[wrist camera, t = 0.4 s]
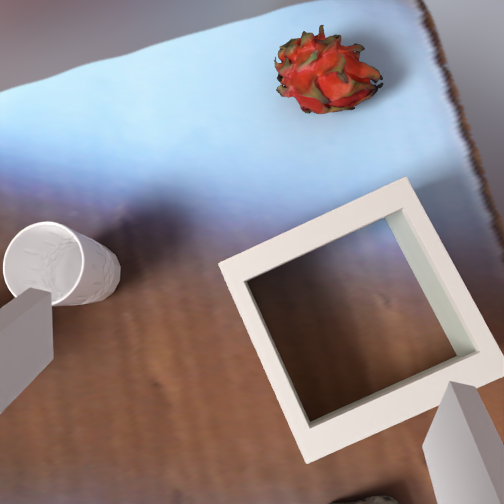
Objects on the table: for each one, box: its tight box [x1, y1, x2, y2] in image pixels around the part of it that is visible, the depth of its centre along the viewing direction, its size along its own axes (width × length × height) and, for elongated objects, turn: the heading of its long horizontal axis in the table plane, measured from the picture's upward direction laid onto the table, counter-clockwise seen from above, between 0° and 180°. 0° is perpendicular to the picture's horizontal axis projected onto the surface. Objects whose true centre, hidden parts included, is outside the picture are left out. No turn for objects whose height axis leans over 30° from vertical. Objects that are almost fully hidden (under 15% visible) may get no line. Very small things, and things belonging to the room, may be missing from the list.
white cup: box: [3, 222, 121, 306], centre depth 45 cm, size 8×8×10 cm
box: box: [218, 176, 504, 464], centre depth 42 cm, size 19×19×8 cm
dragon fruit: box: [274, 25, 383, 114], centre depth 46 cm, size 8×8×12 cm
